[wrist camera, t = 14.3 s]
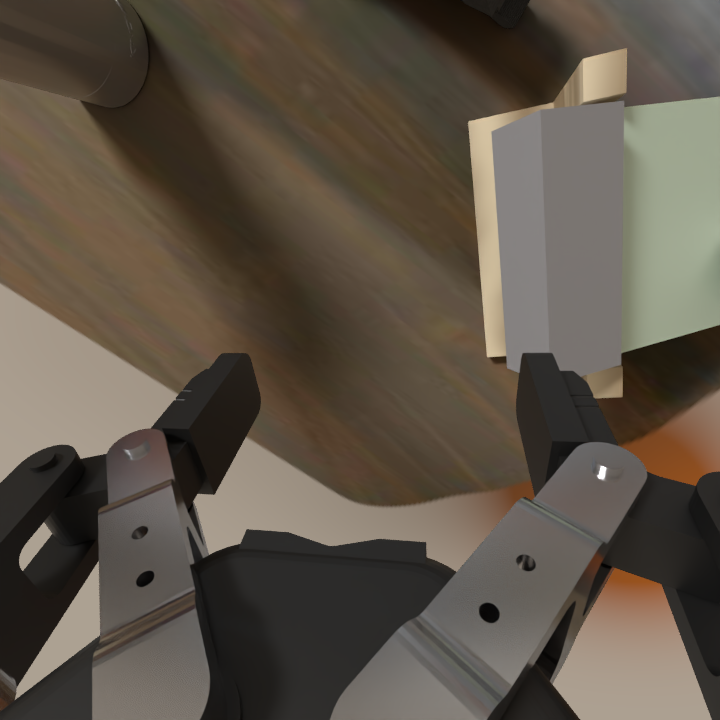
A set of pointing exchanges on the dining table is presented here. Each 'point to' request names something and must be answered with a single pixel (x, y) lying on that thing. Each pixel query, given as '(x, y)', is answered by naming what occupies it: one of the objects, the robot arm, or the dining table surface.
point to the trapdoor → (608, 229)
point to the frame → (586, 86)
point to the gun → (500, 10)
